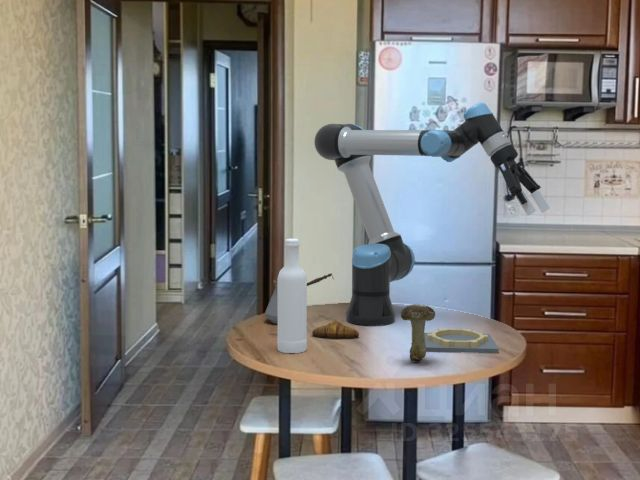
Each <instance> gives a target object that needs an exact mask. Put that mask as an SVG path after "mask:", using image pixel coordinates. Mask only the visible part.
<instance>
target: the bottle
mask: <svg viewBox="0 0 640 480" xmlns="http://www.w3.org/2000/svg"><path fill="white" fill-rule="evenodd" d="M300 246H301V245H300V240H299V238H286V239H285V241H284V249H285V251H284V252H285V253H284V254H285V255H284V256H285V257H284V258H285V259H284V264H285V265H284V266H283V267H282V268H281V269H280V270H279V273H278V276H277V279H276V280H277V306H278V324H277V339H276V346H277V351H278V352H280V353H283V354H289V353H295V354H300V353H301V352H302V353H304V352H306V351H307V349H308V348H307V345H308V337H307V336H308V335H307V334H308V333H307V331H308V330H307V329H308V328H307V327H308V326H307V325H308V321H307V320H308V319H307V316H308V314H307V309H308V306H307V302H308V300H307V299H308V298H307V297H308V295H307V294H308V290H307V287H308V286H307V283H308V278H307V274H306V272H305V270H304V269H303V268H302V267H301V266H300Z"/></svg>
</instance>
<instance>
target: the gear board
mask: <svg viewBox="0 0 640 480" xmlns="http://www.w3.org/2000/svg"><path fill="white" fill-rule="evenodd" d="M424 333H425V343H426V353H461V352H478V353H477V354H499V352H500V351H499V350H500V349H499V347H498V345H497V343H496V342H495V340H494V338H493V337H492V335H491V333H481V332H478V331H476V330H473V329H469V328H465V329H464V328H437V330H435V331H433V332H424Z"/></svg>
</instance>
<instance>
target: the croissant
mask: <svg viewBox="0 0 640 480" xmlns="http://www.w3.org/2000/svg"><path fill="white" fill-rule="evenodd" d="M311 333H312V336H313V337H315V338H329V339H355V338H359V335H360V333H359V331H358V330H357V329H355V328H352V327H350V326H348V325H345V324H343V323H341V322H339V321H336V320H334V321H331V322H329V323H328V324H326V325H321V326H318V327H316V328H314V329H313V330H312V332H311Z"/></svg>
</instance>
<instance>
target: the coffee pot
mask: <svg viewBox="0 0 640 480" xmlns="http://www.w3.org/2000/svg"><path fill="white" fill-rule="evenodd" d="M329 277H332V280H335V278H334V275H333V273H328V274H327V275H325V274H324V275H323V276H320V277H317V278H315V279H313V280H311V281H309V282H308V281H307V287H309V286H312V285H314V284H317V283H320V282H321V281H323V280H327V278H329ZM272 282H273V284H274V286H275V288H274V290H273V293H272V295H271V297H270V299H269V302H268V305H267V306H266V309H265V312H264V315H265V316H266V318H267V319H268V320H269V321H270V322H271V323H272V324H276V325H278V306H277V279H274V280H273V281H272Z"/></svg>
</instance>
